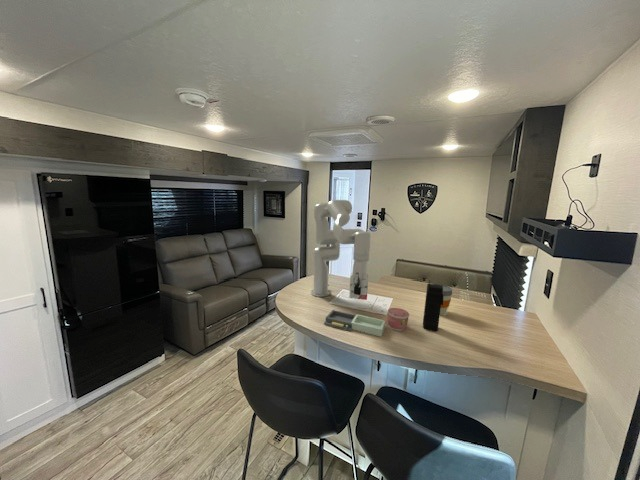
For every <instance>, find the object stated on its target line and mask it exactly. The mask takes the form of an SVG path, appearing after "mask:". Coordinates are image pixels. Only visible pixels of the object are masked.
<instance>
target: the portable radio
mask: <svg viewBox="0 0 640 480" xmlns="http://www.w3.org/2000/svg"><path fill="white" fill-rule="evenodd" d="M434 284H435V283H431V280H429V283H427V285H426V294H425V301H424V310H423V319H422V328H423V330H425V329H426V331H431V330H432V332H436V331H437V332H438V330H439V325H440V324H439V323H440V322H439V321H440V316H441V315H440V309H441V305H442V306H443V286H442V285H443V284H442V285H434Z"/></svg>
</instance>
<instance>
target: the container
mask: <svg viewBox="0 0 640 480" xmlns="http://www.w3.org/2000/svg"><path fill="white" fill-rule="evenodd" d="M386 312H387V324H388V326H389V328H390V329H391V330H394V331H396V330H397V332H402V331H404V330H405V329H406V328H407V326H408V325H409V324H408V323H409V317H410V313H409V311H408V310H406V309H403V308H400V307H391V308H388V309H387V311H386Z"/></svg>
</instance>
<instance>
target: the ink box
mask: <svg viewBox="0 0 640 480" xmlns="http://www.w3.org/2000/svg"><path fill="white" fill-rule="evenodd" d="M349 280H350V281H349V297H348V298H349V299H354V300H355V299H356V300H363V301H364V300H365V301H367V300H368V291H369V290H368V288H369V274H366V275H365V276H364V277H363V280H362V281H361V285H360V287H361V294H360V295H356V294H354V280H355V279H354V280H352V272H351V273H350V275H349ZM358 281H360V280H359V279H358ZM358 283H359V282H358Z"/></svg>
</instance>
